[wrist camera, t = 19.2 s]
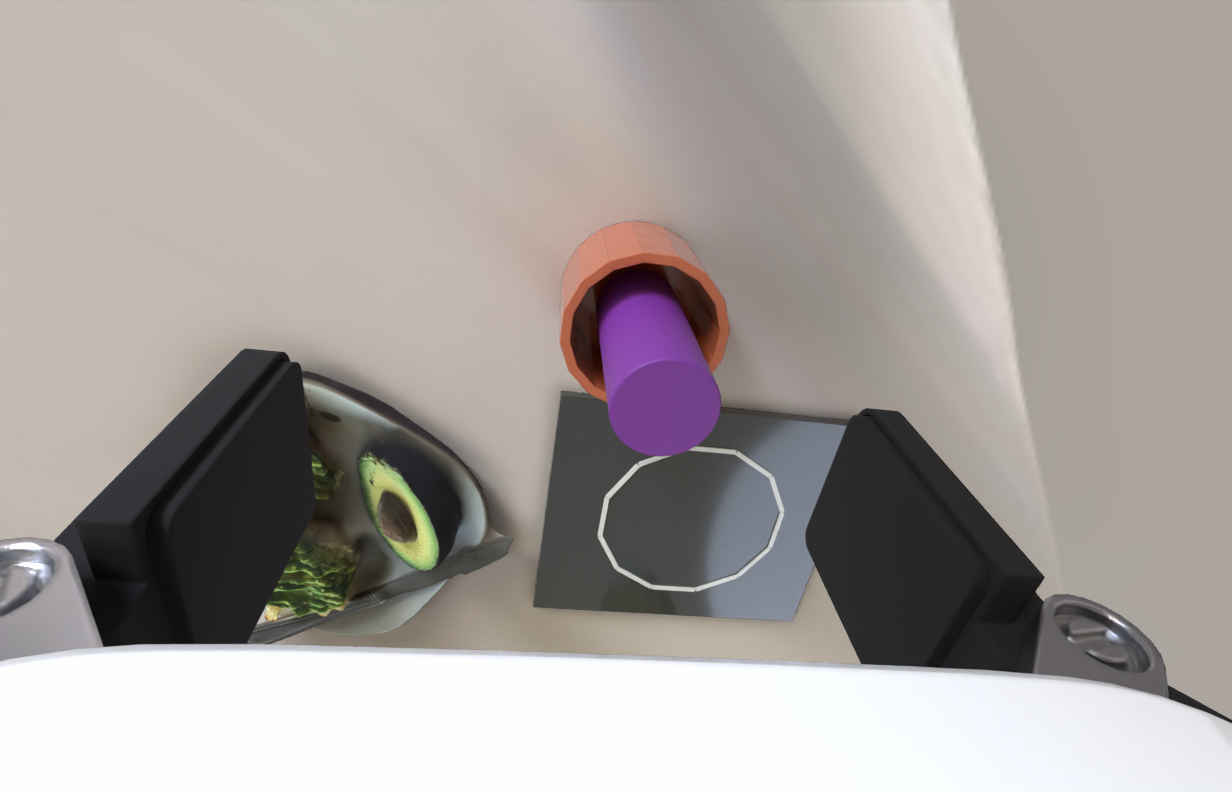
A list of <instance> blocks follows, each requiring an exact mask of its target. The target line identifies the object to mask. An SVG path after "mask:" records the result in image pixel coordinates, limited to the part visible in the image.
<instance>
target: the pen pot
mask: <svg viewBox="0 0 1232 792" xmlns="http://www.w3.org/2000/svg"><path fill="white" fill-rule="evenodd" d="M634 269H642V270H648V271H652V272H655V273H657V274H659V275H660V276H662V277H663V278H664V279H665V280H667V281H668V283H669V284H670V285H671V287H672V288H673V290H674V292H675V294H676V297H677V299H678V301H679V303H680V305H681V307H682V310H683V312H684V314H685V316H686V318H687V321H688V323H689V325H690V327H691V329H692V331H693V334H694V336H695V338H696V340H697V342H698V344H699V347H700V349H701V351H702V353H703V355H704V358H705V360H706V362H707V364H708V366H709V368H710V371H711V373H713V372H714V371H715V369H716V368H717V367H718V365H719V364H720V363H721V361H722V359H723V355H724V351H725V347H726V344H727V340H728V336H729V332H730V331H729V330H730V328H729V322H728V315H727V309H726V303H725V300H724V298H723V296H722V295H721V293H720V292H719V290H718V288H717V287H716V285H715V284H714V282H713V281H712V279H711V278H710V276H709V275H708V273H707V271H706V270H705V268H704V267H703V265H702V264H701V262H700V261H699V259H698V258H697V256H696V255H695V253H694V252H693V250H692V249H691V248H690V246H689V245H688V243H687V242H686V241H684V240H683V239H682V238H681V237H679V236H678V235H676V234H675V233H674V232H672V231H670V230H668V229H666V228H664V227H661V226H659V225H656V224H652V223H647V222H624V223H619V224H615V225H612V226H609V227H606V228H604V229H602V230H600V231H598V232H597V233H595V234H594V235H592V236H590V237H589V238H588V239H587V240H586V241H585V242H583V243H582V244H581V245H580V247H579V248H578V249H577V250H576V251H575V253H574V254H573V256H572V257H571V259H570V261H569V263H568V265H567V267H566V270H565V272H564V275H563V281H562V288H561V298H560V345H561V348H562V351H563V355H564V358H565V361H566V364H567V367H568V370H569V372H570V373H571V374H572V375H573V376H574V378H575V379H576V380H577V381H578V382H579V383H580V384H581V386H582V387H583V388H584V389H585V390H586V391H587V392H588V393H589V394H591V395H593V396H595V397H597V398H599V399H601V400H603V401H605V402H607V396H606V388H605V380H604V372H603V364H602V356H601V348H600V340H599V332H598V324H597V316H596V303H597V299H598V296H599V294H600V292H601V290H602V288H603V287H604V286H605V284H606V283H607V282H608V281H609V280H610V279H612V278H613V277H614V276H616V275H618V274H620V273H622V272H625V271H628V270H634Z"/></svg>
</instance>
